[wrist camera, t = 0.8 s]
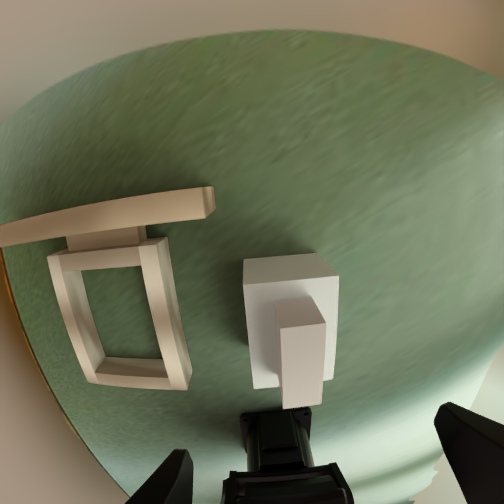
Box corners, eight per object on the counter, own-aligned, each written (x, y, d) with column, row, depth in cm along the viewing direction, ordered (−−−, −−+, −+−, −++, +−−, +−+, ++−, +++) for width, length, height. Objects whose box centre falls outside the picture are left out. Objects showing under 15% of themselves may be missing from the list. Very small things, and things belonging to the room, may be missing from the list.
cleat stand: (235, 369, 21) (233, 412, 16) (71, 363, 21) (46, 393, 16) (213, 186, 18) (201, 187, 13) (31, 217, 18) (-9, 227, 13)
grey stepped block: (316, 339, 21) (346, 410, 13) (252, 346, 21) (255, 423, 13) (316, 252, 19) (360, 297, 11) (243, 258, 19) (242, 310, 11)
